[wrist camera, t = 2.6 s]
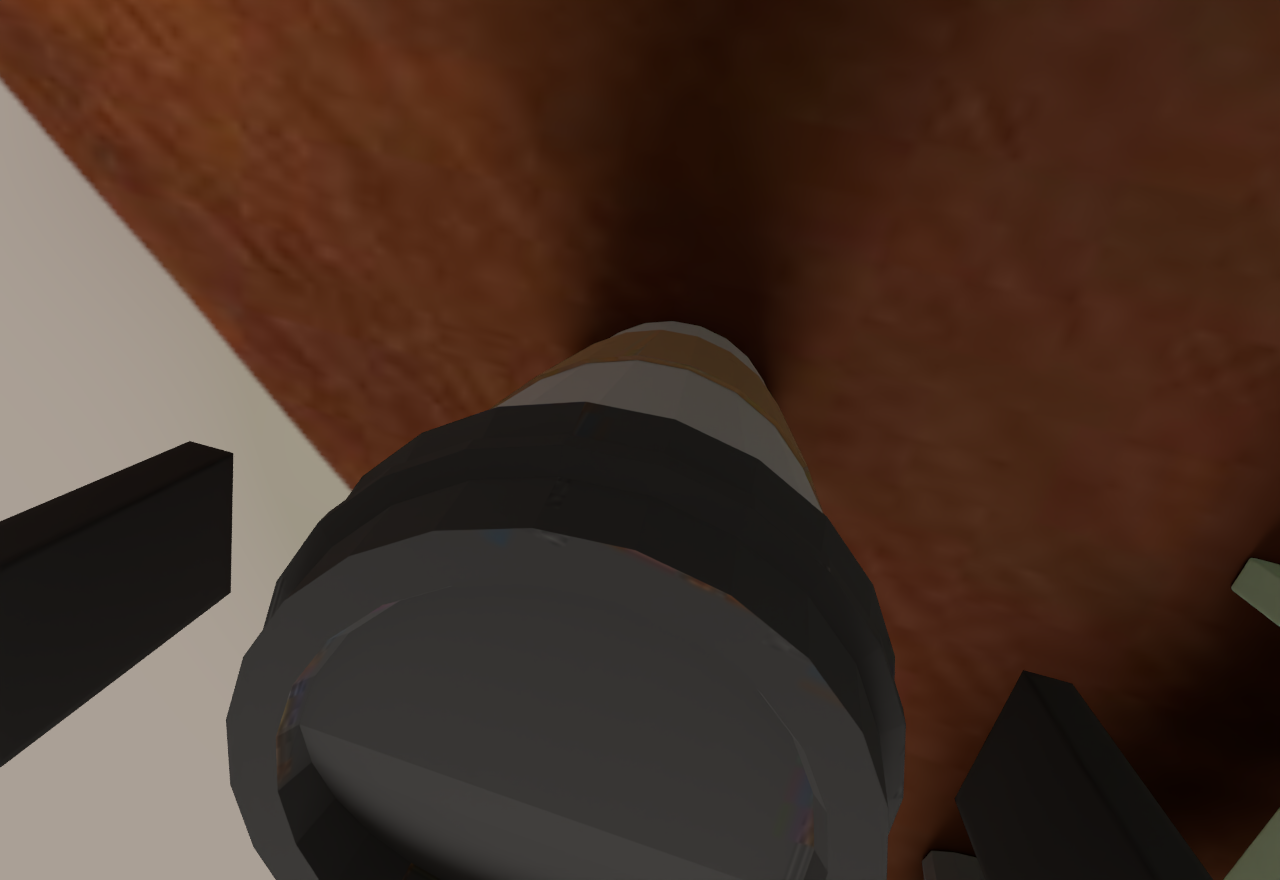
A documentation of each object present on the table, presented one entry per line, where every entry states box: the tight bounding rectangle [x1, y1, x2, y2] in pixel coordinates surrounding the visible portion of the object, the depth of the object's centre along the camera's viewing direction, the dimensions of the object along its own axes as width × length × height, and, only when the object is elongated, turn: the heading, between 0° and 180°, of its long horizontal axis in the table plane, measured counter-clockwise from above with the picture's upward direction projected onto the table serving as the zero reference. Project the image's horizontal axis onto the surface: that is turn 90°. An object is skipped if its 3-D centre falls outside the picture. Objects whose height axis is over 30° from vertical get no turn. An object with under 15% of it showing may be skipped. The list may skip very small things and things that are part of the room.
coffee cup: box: [226, 321, 906, 880], centre depth 14 cm, size 8×8×15 cm
